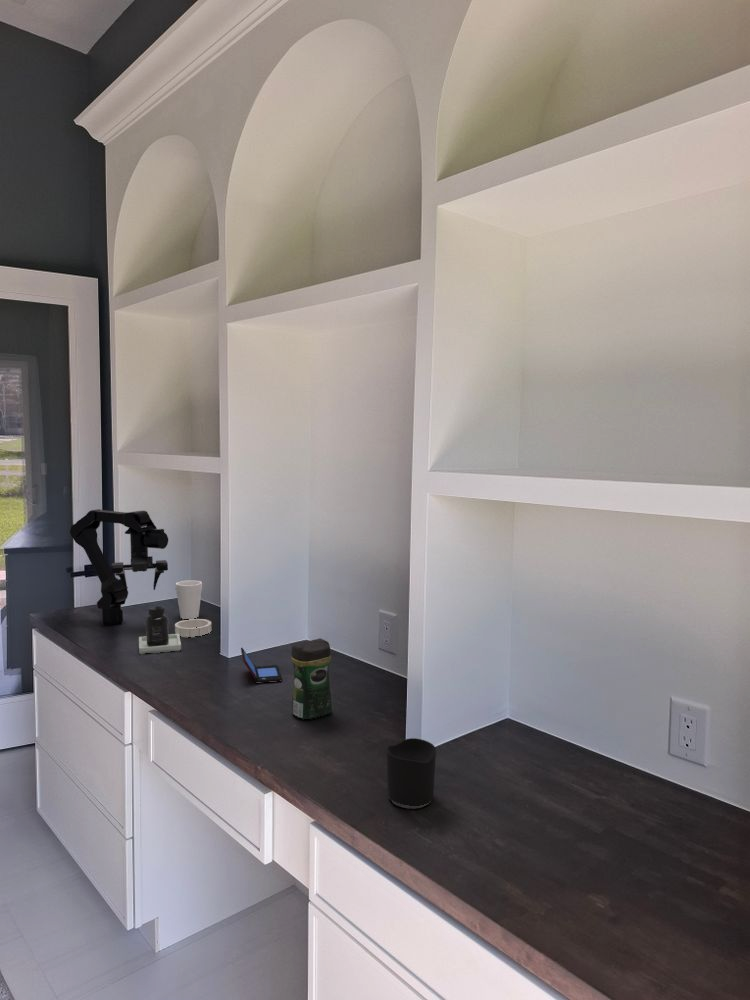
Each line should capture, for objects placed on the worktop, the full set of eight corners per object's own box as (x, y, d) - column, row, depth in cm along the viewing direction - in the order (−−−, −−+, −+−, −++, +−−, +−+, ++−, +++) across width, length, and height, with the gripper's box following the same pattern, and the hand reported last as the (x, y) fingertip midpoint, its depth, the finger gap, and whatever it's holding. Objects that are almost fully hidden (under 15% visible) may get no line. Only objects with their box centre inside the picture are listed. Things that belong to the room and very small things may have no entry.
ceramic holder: (176, 638, 237) (175, 629, 236) (174, 628, 248) (174, 620, 248) (212, 635, 240) (212, 627, 240) (209, 626, 252) (209, 617, 251)
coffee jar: (319, 704, 182) (319, 633, 180) (336, 714, 175) (336, 641, 173) (286, 713, 176) (286, 640, 174) (302, 723, 170) (302, 648, 168)
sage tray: (139, 654, 220) (139, 648, 220) (139, 642, 232) (139, 636, 232) (181, 650, 224) (181, 644, 224) (179, 639, 236) (178, 633, 235)
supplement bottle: (173, 642, 229) (172, 606, 228) (160, 649, 223) (159, 611, 222) (155, 640, 232) (154, 604, 230) (142, 646, 225) (141, 609, 224)
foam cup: (195, 612, 270) (195, 579, 268) (207, 617, 262) (206, 583, 261) (172, 616, 264) (171, 582, 262) (182, 622, 256) (182, 587, 255)
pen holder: (436, 812, 131) (436, 761, 130) (385, 811, 132) (385, 759, 130) (434, 786, 140) (434, 738, 139) (386, 785, 141) (387, 737, 140)
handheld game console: (282, 683, 197) (282, 657, 196) (243, 686, 195) (242, 660, 194) (278, 668, 209) (277, 643, 208) (241, 671, 207) (240, 646, 206)
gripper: (109, 552, 237) (111, 597, 238) (167, 549, 242) (168, 594, 244) (111, 546, 247) (112, 590, 249) (166, 544, 253) (167, 587, 255)
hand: (140, 590), depth 249 cm, fingers open, 9 cm apart
